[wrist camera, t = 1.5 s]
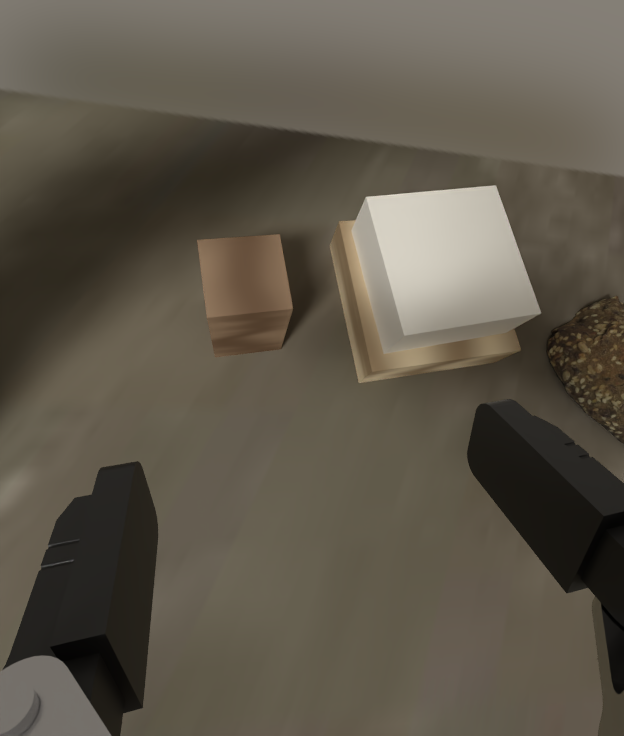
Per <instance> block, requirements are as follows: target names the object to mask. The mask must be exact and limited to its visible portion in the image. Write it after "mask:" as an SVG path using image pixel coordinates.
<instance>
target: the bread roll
mask: <svg viewBox="0 0 624 736" xmlns="http://www.w3.org/2000/svg"><path fill="white" fill-rule="evenodd" d="M547 353H548V356H549V358H550V363H551V364H552V365H553V368H554V370H555V371H556V373H557V375H558V377H559V378H560V380H561V381H562V382H563V383H564V386H565V389H566V392H567V393H568V394H569V395H570V396H571V397H572V398H573V399H574V400H575V401H576V402H577V403H578V404H579V405H580V406H581V407H582V408H583V410H584V411H585V413H587V414H588V415H589V416H591V417H592V418H593V419H594V420H596V421H597V422H599V423H600V424H601V425H603V426H604V427H605V428H606V429H607V430H608V431H609V432H611V433H612V434H613V435H614V436H615V437H616V438H617V439H618V440H619V441H620V442H622V443H623V444H624V305H623V303H620V301H619V299H618V296H615V297H613V298H609V299H603V300H600V301H598V302H595V303H593V304H592V305H590V306H588V307H586V308H583V309H581V310H580V311H579V312H577V313H576V316H575V317H574V318H573V319H572V321H570V322H569V323H567V324H565V325H563V326H561V327H559V328H556V329H554V330H553V331H552V335H551V338H550V339H549V340H548V346H547Z"/></svg>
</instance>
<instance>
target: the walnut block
mask: <svg viewBox="0 0 624 736" xmlns="http://www.w3.org/2000/svg"><path fill="white" fill-rule="evenodd" d="M197 243H198V251H199V258H200V266H201V274H202V282H203V290H204V298H205V306H206V313H207V320H208V325H209V330H210V334H211V339H212V344H213V349H214V354H215V357H221V356H229V355H238V354H246V353H254V352H262V351H270V350H278V349H281V347H282V344H283V341H284V337H285V334H286V331H287V327H288V324H289V321H290V317H291V314H292V311H293V306H292V300H291V295H290V289H289V283H288V278H287V272H286V266H285V261H284V255H283V250H282V244H281V238H280V234H276V235H262V236H247V237H232V238H218V239H203V240H197Z"/></svg>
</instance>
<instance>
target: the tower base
mask: <svg viewBox="0 0 624 736" xmlns="http://www.w3.org/2000/svg"><path fill="white" fill-rule="evenodd" d="M355 221H356V220H354V221H340V222H339V223H338V225H337V228H336V231H335V233H334V236H333V239H332V241H331V244H330V250H331V254H332V259H333V264H334V268H335V273H336V278H337V283H338V287H339V292H340V297H341V301H342V306H343V311H344V316H345V320H346V325H347V330H348V334H349V339H350V344H351V348H352V353H353V358H354V363H355V367H356V372H357V377H358V381H359V383H362V382H369V381H375V380H382V379H389V378H395V377H402V376H409V375H415V374H422V373H429V372H435V371H442V370H449V369H455V368H462V367H469V366H476V365H482V364H489V363H495V362H497V361H499V360H501V359H504V358H506V357H508V356H510V355H512V354H514V353H516V352H519V351H521V348H520V345H519V341H518V338H517V335H516V332H515V328H514V329H512V330H510V331H509V332H507V333H503V334H497V335H492V336H486V337H480V338H474V339H468V340H462V341H457V342H451V343H445V344H439V345H433V346H428V347H422V348H416V349H410V350H404V351H398V352H392V353H387V354H384V353H383V349H382V345H381V342H380V338H379V334H378V330H377V326H376V322H375V319H374V315H373V311H372V307H371V303H370V300H369V296H368V292H367V288H366V284H365V281H364V277H363V273H362V269H361V265H360V262H359V258H358V254H357V250H356V246H355V242H354V239H353V235H352V231H351V230H352V228H353V226H354V223H355Z"/></svg>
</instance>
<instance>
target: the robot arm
mask: <svg viewBox="0 0 624 736" xmlns="http://www.w3.org/2000/svg"><path fill="white" fill-rule="evenodd" d="M467 458H468V463H469V466H470V469H471V471H472V473H473V475H474V476H475V477H476V479H477V480H478V481H479V482H480V484H481V485H482V486H483V488H484V489H485V490H486V491H487V493H488V494H489V495H490V497H491V498H492V499H493V500H494V502H495V503H496V504H497V505H498V507H499V508H500V509H501V511H502V512H503V513H504V514H505V516H506V517H507V518H508V519H509V521H510V522H511V523H512V525H513V526H514V527H515V528H516V530H517V531H518V532H519V533H520V535H521V536H522V537H523V539H524V540H525V541H526V542H527V544H528V545H529V546H530V547H531V549H532V550H533V551H534V553H535V554H536V555H537V556H538V558H539V559H540V560H541V561H542V563H543V564H544V565H545V567H546V568H547V569H548V570H549V572H550V573H551V574H552V575H553V577H554V578H555V579H556V581H557V582H558V583H559V584H560V586H561V587H562V588H563V589H564V591H565V592H566V593H570V592H574V591H577V590H581V589H585V588H589V589H590V590H591V592H592V593H593V594H594V595H595V598H594V599H593V602H592V614H593V622H594V630H595V638H596V646H597V654H598V662H599V671H600V679H601V687H602V695H603V709H602V716H601V720H600V724H599V730H598V736H624V483H623V482H621V481H620V480H619V479H618V478H617V477H616V476H614V475H613V474H612V473H611V472H610V471H608V470H607V469H606V468H605V467H604V466H603V465H601V464H600V463H599V462H598V461H597V460H595V459H594V458H593V457H591V458H590V457H589V454H588V453H587V452H586V451H585V450H584V449H582V448H581V447H580V446H579V445H575V443H574V441H573V440H572V439H571V438H569V437H568V436H567V435H566V434H565V433H564V432H562V431H561V430H560V429H559V428H558V427H556V426H554V425H552V424H550V423H548V422H546V421H544V420H542V419H540V418H538V417H536V416H532V415H531V414H530V413H529V412H527V411H526V410H525V409H524V408H523V407H522V406H521V405H519V404H518V403H517V402H516V401H514V400H511V399H507V400H501V401H495V402H489V403H483V404H480V405H479V406H478V408H477V410H476V413H475V418H474V422H473V427H472V432H471V436H470V441H469V446H468V451H467ZM157 544H158V523H157V516H156V511H155V507H154V504H153V501H152V497H151V494H150V491H149V488H148V484H147V481H146V478H145V475H144V471H143V468H142V466H141V464H140V462H138V461H137V462H131V463H125V464H120V465H114V466H108V467H102V468H100V470H99V472H98V474H97V478H96V482H95V485H94V489H93V492H92V495H88V496H82V497H77V498H74V499H73V501H72V502H71V503H70V504H69V506H68V507H67V508H66V509H65V511H64V512H63V513H62V514H61V515H60V517H59V518H58V519H57V521H56V523H55V526H54V529H53V532H52V535H51V538H50V541H49V544H48V546H49V548H48V549H47V550H46V552H45V555H44V558H43V561H42V564H41V571H39V572H38V575H37V578H36V581H35V584H34V587H33V589H32V592H31V595H30V598H29V601H28V604H27V607H26V610H25V612H24V615H23V618H22V621H21V624H20V627H19V630H18V633H17V635H16V638H15V641H14V644H13V647H12V650H11V653H10V655H9V658H8V660H7V662H6V665H5V666H4V668H3V670H2V671H1V672H0V736H120V733H121V725H122V717H123V713H126V712H130V711H133V710H137V709H141V708H143V699H144V688H145V677H146V666H147V655H148V644H149V633H150V621H151V610H152V599H153V588H154V577H155V566H156V555H157Z"/></svg>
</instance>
